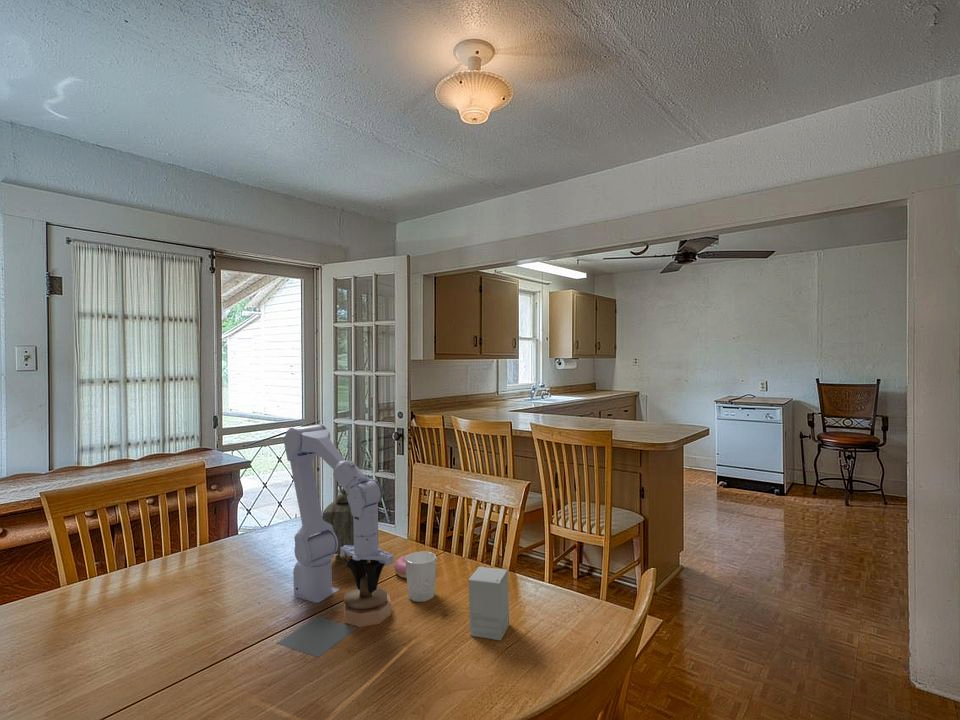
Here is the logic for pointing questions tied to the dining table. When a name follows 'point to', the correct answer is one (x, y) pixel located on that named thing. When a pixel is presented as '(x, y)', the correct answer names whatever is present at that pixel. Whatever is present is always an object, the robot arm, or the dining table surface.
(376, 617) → the bowl
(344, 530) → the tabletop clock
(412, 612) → the dining table surface
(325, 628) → the mat
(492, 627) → the supplement box
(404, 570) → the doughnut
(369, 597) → the lid
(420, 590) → the white cup
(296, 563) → the robot arm
